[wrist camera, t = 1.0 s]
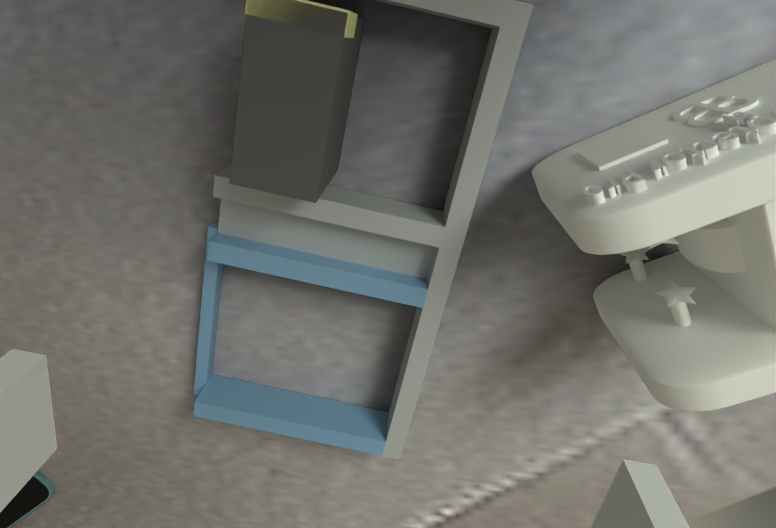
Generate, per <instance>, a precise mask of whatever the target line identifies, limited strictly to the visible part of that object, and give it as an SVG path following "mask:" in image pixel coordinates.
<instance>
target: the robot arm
mask: <svg viewBox="0 0 776 528" xmlns="http://www.w3.org/2000/svg"><path fill="white" fill-rule="evenodd" d="M56 449H57V441H56V432H55V424H54V416H53V407H52V399H51V391H50V382H49V374H48V366H47V357H46V355H43V354H37V353H32V352H26V351H20V350H15V349H12V350H10V351H9V352H8V353H6V354H5V355H4V356H3V357H1V358H0V512H1V511H2V510H3V509H4V508H5V507H6V506H7V505H8V503H9V502H10V501H11V500H12V499H13V498H14V497H15V496H16V494H17V493H18V492H19V491H20V490H21V489H22V488H23V487H24V485H25V484H26V483H27V482H28V481H29V480H30V479H31V478H32V476H33V475H34V474H35V473H36V472H37V471H38V470H39V469H40V467H41V466H42V465H43V464H44V463H45V462H46V461H47V459H48V458H49V457H50V456H51V455H52V454H53V453H54V452H55V450H56ZM591 528H689V526H688V524H687V522H686V520H685V518H684V516H683V514H682V513H681V511H680V509H679V507H678V505H677V503H676V501H675V499H674V497H673V496H672V494H671V492H670V490H669V488H668V486H667V484H666V482H665V480H664V479H663V477H662V475H661V473H660V471H659V469H658V467H657V465H651V464H646V463H640V462H635V461H629V460H624V459H623V461H622V463H621V465H620V467H619V469H618V472H617V474H616V476H615V478H614V480H613V482H612V484H611V486H610V489H609V491H608V493H607V495H606V497H605V499H604V501H603V504H602V506H601V508H600V510H599V512H598V514H597V516H596V518H595V521H594V523H593V525H592V527H591Z"/></svg>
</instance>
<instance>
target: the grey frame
mask: <svg viewBox="0 0 776 528" xmlns="http://www.w3.org/2000/svg"><path fill="white" fill-rule="evenodd" d="M374 1H379V2H383V3H387V4H391V5H395V6H399V7H404V8H408V9H412V10H416V11H420V12H425V13H429V14H433V15H437V16H441V17H446V18H450V19H454V20H458V21H462V22H466V23H471V24H475V25H479V26H483V27H487V28H492V31H491V34H490V38H489V42H488V46H487V49H486V53H485V57H484V60H483V64H482V68H481V71H480V75H479V79H478V83H477V86H476V90H475V94H474V97H473V101H472V105H471V108H470V112H469V116H468V120H467V123H466V127H465V131H464V134H463V138H462V142H461V146H460V149H459V153H458V157H457V160H456V164H455V168H454V171H453V175H452V179H451V183H450V186H449V190H448V194H447V197H446V201H445V205H444V208H443V211H441V210H437V209H432V208H428V207H424V206H419V205H415V204H410V203H406V202H402V201H397V200H393V199H388V198H384V197H379V196H375V195H371V194H366V193H362V192H357V191H353V190H349V189H344V188H340V187H335V186H331V185H327V187H326V188H325V190H324V192H323V193H322V195H321V196H320V198H319V199H318V201H317V202H316V203H313V202H308V201H304V200H299V199H295V198H291V197H286V196H282V195H277V194H273V193H268V192H264V191H259V190H255V189H250V188H246V187H242V186H237V185H233V184H229V182H230V172H231V165H230V166H228V167H227V168H225V169H224V170H222V171H220V172H219V173H217V174H216V175H215V177H214V188H213V197H216V198H220V199H221V204H220V214H219V222H215V221H214V222H213V223H211V224H210V225H209V226H208V232H207V244H206V255H205V267H204V278H203V290H202V302H201V313H200V325H199V337H198V348H197V360H196V371H195V383H194V395H197V396H198V397H197V399H196V400H195V404H194V417H199V418H203V419H208V420H213V421H218V422H222V423H227V424H232V425H237V426H241V427H246V428H251V429H256V430H261V431H265V432H270V433H275V434H280V435H284V436H289V437H294V438H299V439H303V440H308V441H313V442H318V443H322V444H327V445H332V446H337V447H341V448H346V449H351V450H356V451H360V452H365V453H370V454H375V455H379V456H384V457H389V458H394V459H398V460H400V458H401V455H402V451H403V448H404V445H405V441H406V438H407V434H408V431H409V428H410V424H411V421H412V417H413V414H414V411H415V407H416V404H417V400H418V397H419V394H420V390H421V387H422V383H423V380H424V377H425V373H426V370H427V366H428V363H429V360H430V356H431V353H432V349H433V346H434V343H435V339H436V336H437V332H438V329H439V325H440V322H441V319H442V315H443V312H444V308H445V305H446V302H447V298H448V295H449V291H450V288H451V285H452V281H453V278H454V274H455V271H456V268H457V264H458V261H459V257H460V254H461V251H462V247H463V244H464V240H465V237H466V234H467V230H468V227H469V223H470V220H471V217H472V213H473V210H474V206H475V203H476V200H477V196H478V193H479V189H480V186H481V183H482V179H483V176H484V172H485V169H486V166H487V162H488V159H489V155H490V152H491V149H492V145H493V142H494V138H495V135H496V132H497V128H498V125H499V121H500V118H501V115H502V111H503V108H504V104H505V101H506V97H507V94H508V91H509V87H510V84H511V80H512V77H513V74H514V70H515V67H516V63H517V60H518V57H519V53H520V50H521V46H522V43H523V40H524V36H525V33H526V29H527V26H528V23H529V19H530V16H531V12H532V9H533V6H534V4H529V3H525V2H521V1H517V0H374ZM223 264H225V265H230V266H234V267H239V268H243V269H248V270H252V271H257V272H261V273H266V274H270V275H275V276H280V277H284V278H289V279H293V280H298V281H302V282H307V283H311V284H316V285H320V286H325V287H329V288H334V289H339V290H343V291H348V292H352V293H357V294H361V295H366V296H370V297H375V298H379V299H384V300H389V301H393V302H398V303H402V304H407V305H411V306H416V307H417V308H416V312H415V316H414V320H413V323H412V327H411V331H410V334H409V338H408V342H407V346H406V349H405V353H404V357H403V360H402V364H401V368H400V371H399V375H398V379H397V383H396V386H395V390H394V394H393V397H392V401H391V405H390V408H389V412H386V411H381V410H376V409H372V408H367V407H362V406H358V405H353V404H348V403H344V402H339V401H334V400H330V399H325V398H320V397H315V396H311V395H306V394H301V393H297V392H292V391H287V390H283V389H278V388H273V387H269V386H264V385H259V384H254V383H250V382H245V381H240V380H236V379H231V378H226V377H222V376H217V375H212V368H213V358H214V348H215V338H216V329H217V319H218V309H219V299H220V289H221V279H222V269H223Z"/></svg>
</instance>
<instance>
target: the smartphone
mask: <svg viewBox="0 0 776 528" xmlns="http://www.w3.org/2000/svg"><path fill="white" fill-rule="evenodd" d="M54 491H55V487H54V485H53V484H52V483H51V481H49V480H48V479H47V478H46V477H44V476H43V475H42V474H41V473H39V472H38V471H37V472H36V473H35V474H34V475H33V476H32V478H31V479H30V480H29V481H28V482H27V483H26V484H25V485H24V487H23V488H22V489H21V490H20V491H19V492H18V493H17V494H16V496H15V497H14V498H13V499H12V500H11V501H10V502H9V503H8V505H7V506H6V507H5V508H4V509H3V510H2V511H1V512H0V528H10V527H12V526H13V525H15V524H16V523H17V522H19V521H20V520H22V519H23V518H24V517H26V516H27V515H28V514H30V513H31V512H33V511H34V510H35V509H37V508H38V507H39V506H41V505H42V504H44V503H45V502H46V501H48V500H49V498H50V497H51V496H52V495H53V493H54Z"/></svg>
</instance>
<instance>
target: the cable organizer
mask: <svg viewBox="0 0 776 528" xmlns="http://www.w3.org/2000/svg"><path fill="white" fill-rule="evenodd" d="M532 176H533V178H534V181H535V184H536V187H537V189H538V192H539V195H540V198H541V200H542V201H543V202H544V204H545V205H546V206H547V208H548V209H549V210H550V211H551V213H552V214H553V215H554V217H555V218H556V219H557V220H558V222H559V223H560V224H561V225H562V227H563V228H564V229H565V231H566V232H567V233H568V234H569V236H570V237H571V238H572V239H573V241H574V242H575V243H576V245H577V246H578V247H579V248H580V249H581V250H582V251H583V252H586V253H589V254H595V255H609V254H620V255H623V256H626V264H627V263H629V265H630V268H631V269H628V270H625V271H622V272H620V273H618V274H615V275H613V276H611V277H610V278H608V279H606V280H605V281H603V282H602V283H601V284H600V285H599V286H598V287H597V288H596V289H595V291H594V294H593V298H594V301H595V304H596V307H597V309H598V312H599V315H600V317H601V319H602V320H603V322H604V323H605V325H606V326H607V328H608V329H609V331H610V332H611V334H612V335H613V337H614V338H615V340H616V342H617V343H618V345H619V346H620V348H621V349H622V351H623V352H624V354H625V355H626V357H627V358H628V360H629V361H630V363H631V364H632V366H633V367H634V369H635V370H636V372H637V373H638V375H639V376H640V378H641V379H642V381H643V382H644V384H645V385H646V387H647V388H648V390H649V391H650V393H651V394H652V396H653V397H654V398H655V399H656V400H657V401H658V402H660V403H661V404H663V405H665V406H667V407H670V408H673V409H678V410H684V411H708V410H716V409H720V408H725V407H729V406H732V405H736V404H739V403H742V402H746V401H749V400H752V399H756V398H759V397H762V396H766V395H769V394H772V393H776V59H775V60H772V61H769V62H767V63H764V64H762V65H760V66H757V67H755V68H753V69H750V70H748V71H746V72H743V73H741V74H738V75H736V76H734V77H731V78H729V79H727V80H724V81H722V82H720V83H717V84H715V85H712V86H710V87H708V88H705V89H703V90H701V91H698V92H696V93H694V94H691V95H689V96H687V97H684V98H682V99H679V100H677V101H675V102H672V103H670V104H668V105H665V106H663V107H661V108H658V109H656V110H653V111H651V112H649V113H646V114H644V115H642V116H639V117H637V118H635V119H632V120H630V121H628V122H625V123H623V124H620V125H618V126H616V127H613V128H611V129H609V130H606V131H604V132H602V133H599V134H597V135H594V136H592V137H590V138H587V139H585V140H583V141H580V142H578V143H576V144H573V145H571V146H569V147H566V148H564V149H562V150H560V151H558V152H556V153H554V154H552V155H550V156H549V157H547V158H545V159H544V160H542V161H541V162H540V163H538V164H537V165H536V166H535V167H534V169H533V170H532ZM674 237H675V239H676V240H675V239H674ZM662 243H669V244H677V245H678V248H679V251H677V252H674V253H672V254H669V255H666V256H663V257H661V258H658V259H655V260H653V261H650V262H647V263H644V264H643V261H642V259H643V260H649V259H648V258H647V256H646V255H645V253H646V252H647V251H648V250H649V249H652V248H654V247H656V246H658V245H660V244H662ZM646 247H647V248H646Z"/></svg>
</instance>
